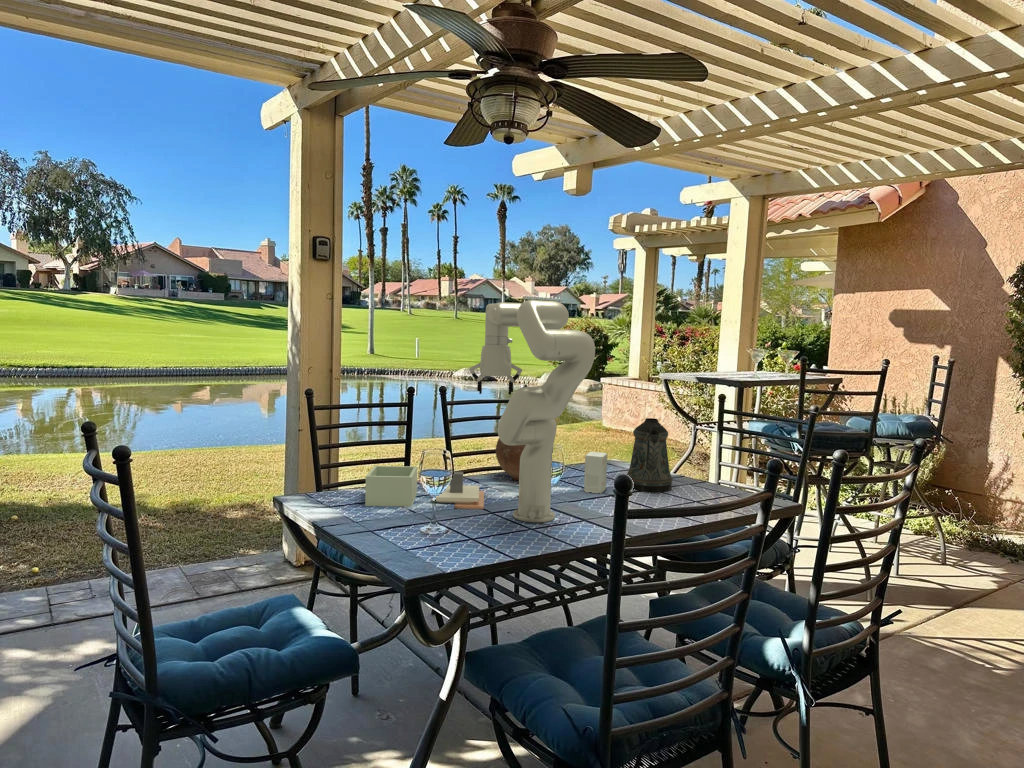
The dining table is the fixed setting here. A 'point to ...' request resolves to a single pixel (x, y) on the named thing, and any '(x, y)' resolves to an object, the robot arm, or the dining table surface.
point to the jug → (509, 458)
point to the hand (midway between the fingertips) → (495, 393)
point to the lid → (459, 491)
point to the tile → (472, 505)
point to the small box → (595, 472)
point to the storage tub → (391, 486)
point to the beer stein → (650, 458)
